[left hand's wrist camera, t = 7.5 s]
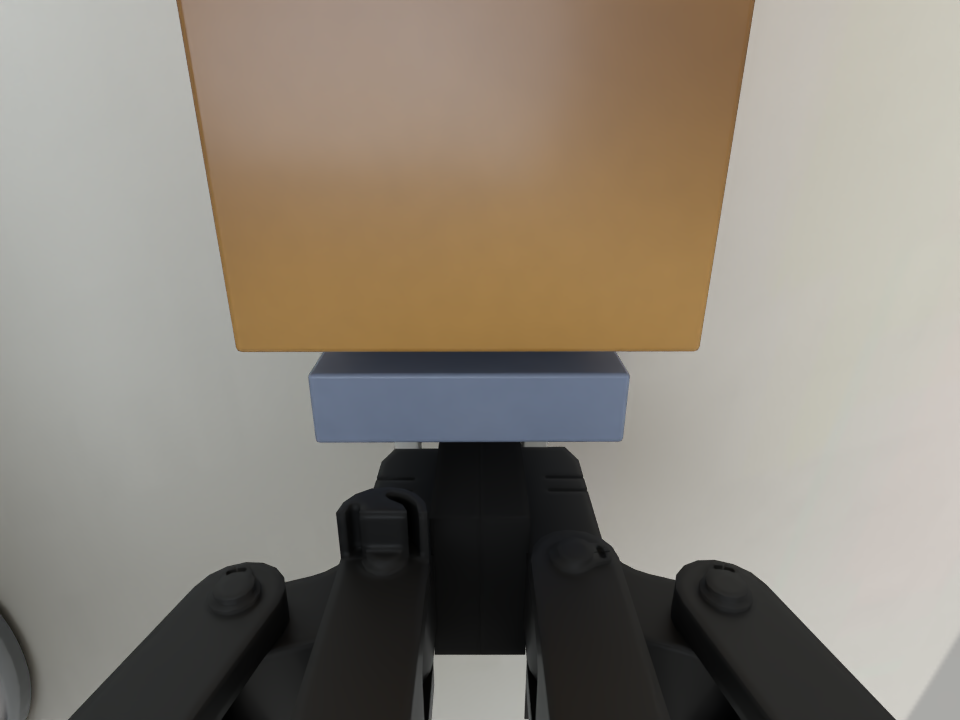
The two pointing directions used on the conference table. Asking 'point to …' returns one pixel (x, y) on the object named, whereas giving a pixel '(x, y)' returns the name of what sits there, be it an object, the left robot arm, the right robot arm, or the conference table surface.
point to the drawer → (469, 397)
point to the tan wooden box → (466, 169)
